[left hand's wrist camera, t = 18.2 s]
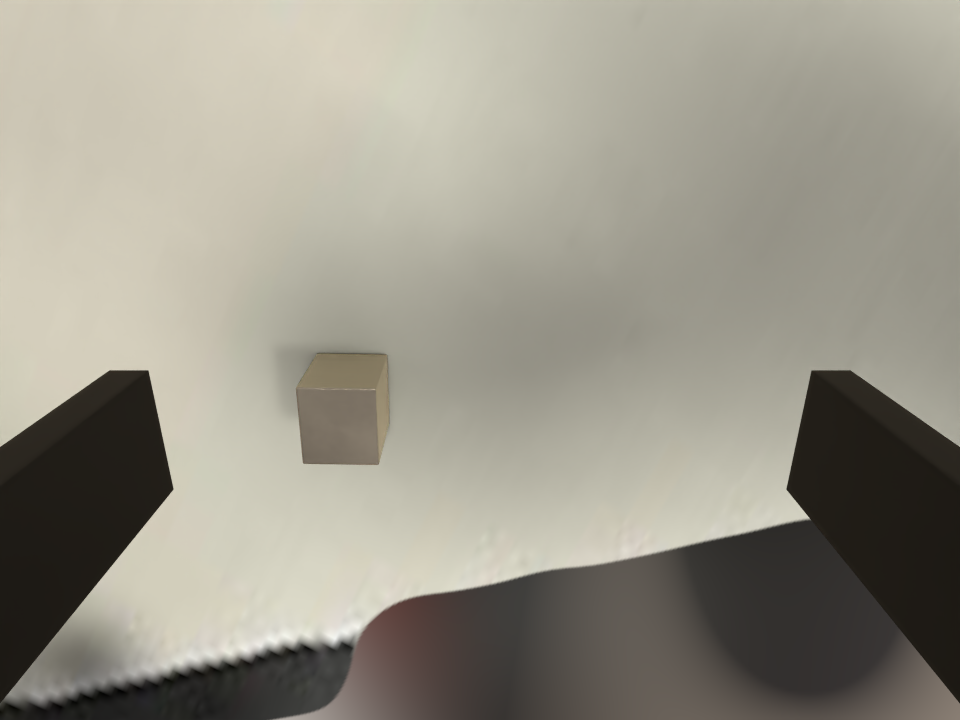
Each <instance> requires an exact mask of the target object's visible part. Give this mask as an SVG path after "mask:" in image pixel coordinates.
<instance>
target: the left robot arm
mask: <svg viewBox="0 0 960 720" xmlns="http://www.w3.org/2000/svg"><path fill="white" fill-rule="evenodd" d="M172 491H173V485H172V480H171V475H170V471H169V466H168V461H167V456H166V452H165V447H164V442H163V437H162V433H161V428H160V423H159V419H158V414H157V409H156V404H155V400H154V395H153V390H152V385H151V381H150V376H149V371H108V372H107V373H105V374H104V375H103V376H101V377H100V378H98V379H97V380H95V381H94V382H93V383H91V384H90V385H88V386H87V387H85V388H84V389H83V390H81V391H80V392H78V393H77V394H75V395H74V396H73V397H71V398H70V399H68V400H67V401H65V402H64V403H63V404H61V405H60V406H58V407H57V408H55V409H54V410H53V411H51V412H50V413H48V414H47V415H45V416H44V417H43V418H41V419H40V420H38V421H37V422H35V423H34V424H33V425H31V426H30V427H28V428H27V429H25V430H24V431H23V432H21V433H20V434H18V435H17V436H15V437H14V438H13V439H11V440H10V441H8V442H7V443H5V444H4V445H3V446H1V447H0V703H1V702H2V700H3V699H4V698H5V697H6V695H7V694H8V693H9V692H10V690H11V689H12V688H13V687H14V686H15V684H16V683H17V682H18V681H19V679H20V678H21V677H22V676H23V674H24V673H25V672H26V671H27V670H28V668H29V667H30V666H31V665H32V663H33V662H34V661H35V660H36V658H37V657H38V656H39V655H40V653H41V652H42V651H43V650H44V649H45V647H46V646H47V645H48V644H49V642H50V641H51V640H52V639H53V637H54V636H55V635H56V634H57V632H58V631H59V630H60V629H61V628H62V626H63V625H64V624H65V623H66V621H67V620H68V619H69V618H70V616H71V615H72V614H73V613H74V612H75V610H76V609H77V608H78V607H79V605H80V604H81V603H82V602H83V600H84V599H85V598H86V597H87V595H88V594H89V593H90V592H91V591H92V589H93V588H94V587H95V586H96V584H97V583H98V582H99V581H100V579H101V578H102V577H103V576H104V575H105V573H106V572H107V571H108V570H109V568H110V567H111V566H112V565H113V563H114V562H115V561H116V560H117V558H118V557H119V556H120V555H121V554H122V552H123V551H124V550H125V549H126V547H127V546H128V545H129V544H130V542H131V541H132V540H133V539H134V537H135V536H136V535H137V534H138V533H139V531H140V530H141V529H142V528H143V526H144V525H145V524H146V523H147V521H148V520H149V519H150V518H151V517H152V515H153V514H154V513H155V512H156V510H157V509H158V508H159V507H160V505H161V504H162V503H163V502H164V500H165V499H166V498H167V497H168V496H169V494H170V493H171V492H172ZM787 491H788V492H789V493H790V494H791V496H792V497H793V498H794V499H795V500H796V502H797V503H798V504H799V505H800V507H801V508H802V509H803V510H804V512H805V513H806V514H807V515H808V517H809V518H810V519H811V520H812V521H813V523H814V524H815V525H816V526H817V528H818V529H819V530H820V531H821V532H822V534H823V535H824V536H825V537H826V539H827V540H828V541H829V542H830V544H831V545H832V546H833V547H834V549H835V550H836V551H837V552H838V554H839V555H840V556H841V557H842V558H843V560H844V561H845V562H846V563H847V565H848V566H849V567H850V568H851V570H852V571H853V572H854V573H855V575H856V576H857V577H858V578H859V579H860V581H861V582H862V583H863V584H864V586H865V587H866V588H867V589H868V591H869V592H870V593H871V594H872V595H873V597H874V598H875V599H876V600H877V602H878V603H879V604H880V605H881V607H882V608H883V609H884V610H885V612H886V613H887V614H888V615H889V616H890V618H891V619H892V620H893V621H894V623H895V624H896V625H897V626H898V628H899V629H900V630H901V631H902V632H903V634H904V635H905V636H906V637H907V639H908V640H909V641H910V642H911V643H912V645H913V646H914V647H915V648H916V650H917V651H918V652H919V653H920V655H921V656H922V657H923V658H924V660H925V661H926V662H927V663H928V665H929V666H930V667H931V668H932V670H933V671H934V672H935V673H936V674H937V676H938V677H939V678H940V679H941V681H942V682H943V683H944V684H945V686H946V687H947V688H948V689H949V690H950V692H951V693H952V694H953V695H954V697H955V698H956V699H957V700H958V702H959V703H960V447H959V446H957V445H956V444H955V443H953V442H952V441H950V440H949V439H947V438H946V437H945V436H943V435H942V434H940V433H939V432H937V431H936V430H935V429H933V428H932V427H930V426H929V425H927V424H926V423H925V422H923V421H922V420H920V419H919V418H917V417H916V416H915V415H913V414H912V413H910V412H909V411H907V410H906V409H905V408H903V407H902V406H900V405H899V404H897V403H896V402H895V401H893V400H892V399H890V398H889V397H887V396H886V395H885V394H883V393H882V392H880V391H879V390H877V389H876V388H875V387H873V386H872V385H870V384H869V383H867V382H866V381H865V380H863V379H862V378H860V377H859V376H857V375H856V374H855V373H853V372H852V371H811V376H810V381H809V385H808V390H807V395H806V400H805V404H804V409H803V414H802V419H801V423H800V428H799V433H798V437H797V442H796V447H795V452H794V456H793V461H792V466H791V471H790V475H789V480H788V485H787Z"/></svg>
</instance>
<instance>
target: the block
mask: <svg viewBox="0 0 960 720" xmlns="http://www.w3.org/2000/svg"><path fill="white" fill-rule="evenodd" d="M296 393H297V404H298V415H299V426H300V437H301V447H302V458H303V463H304V464H356V465H378V464H379V462H380V458H381V454H382V450H383V446H384V442H385V438H386V434H387V430H388V426H389V396H388V365H387V355H377V354H322V353H318V354H317V355H316V356H315V358H314V360H313V361H312V363H311V364H310V366H309V368H308V369H307V371H306V372H305V374H304V376H303V377H302V379H301V381H300V382H299V384H298V385H297V387H296Z"/></svg>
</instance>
